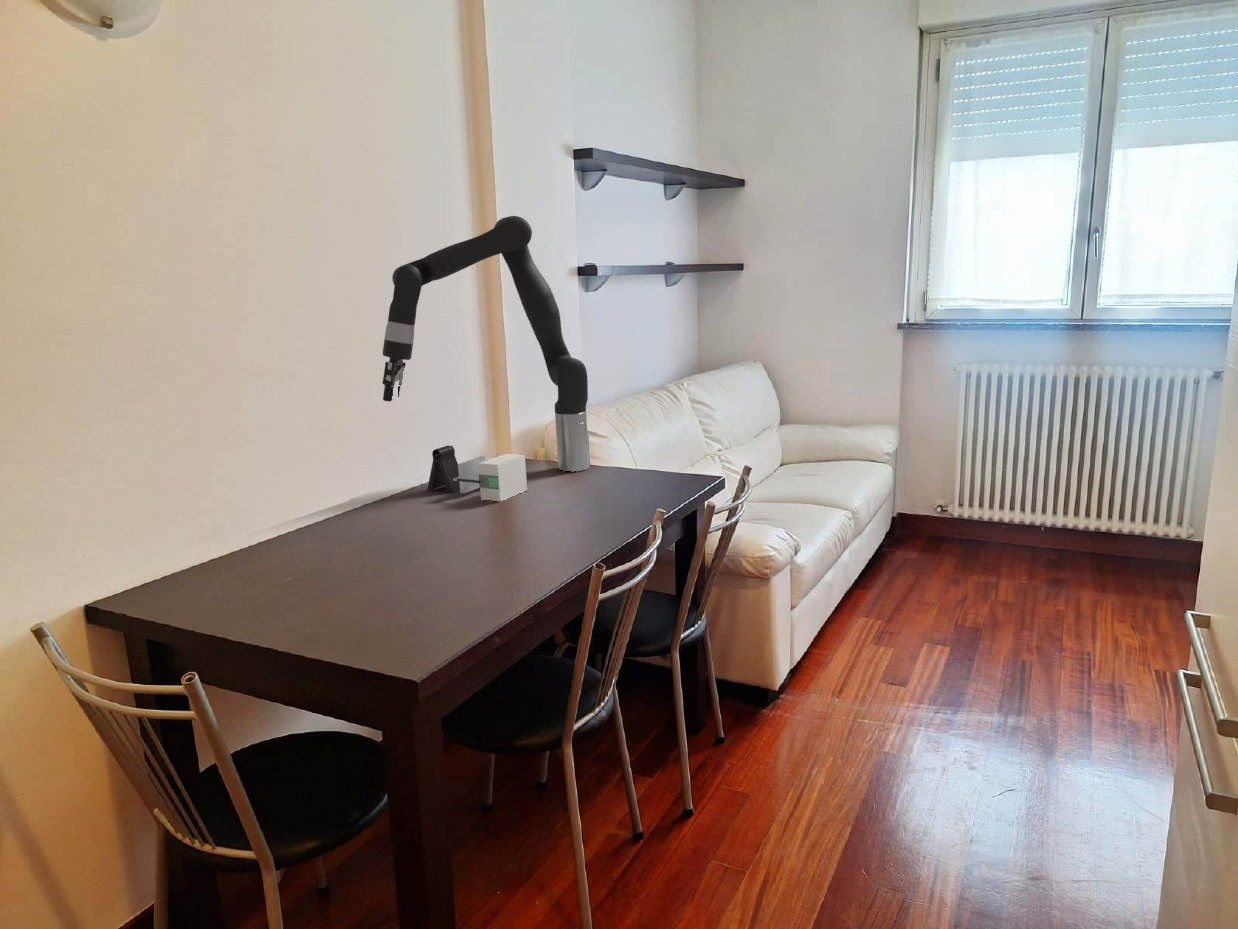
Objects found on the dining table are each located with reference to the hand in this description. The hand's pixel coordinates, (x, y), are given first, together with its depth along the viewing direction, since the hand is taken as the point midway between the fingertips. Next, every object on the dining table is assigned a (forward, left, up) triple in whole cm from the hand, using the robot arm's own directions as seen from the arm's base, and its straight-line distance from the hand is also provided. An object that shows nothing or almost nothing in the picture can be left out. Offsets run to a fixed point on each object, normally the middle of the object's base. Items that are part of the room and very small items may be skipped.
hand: (390, 400), depth 228 cm
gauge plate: (-6, +24, -25) cm, 35 cm away
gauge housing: (-7, +30, -26) cm, 41 cm away
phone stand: (-7, +11, -26) cm, 29 cm away
